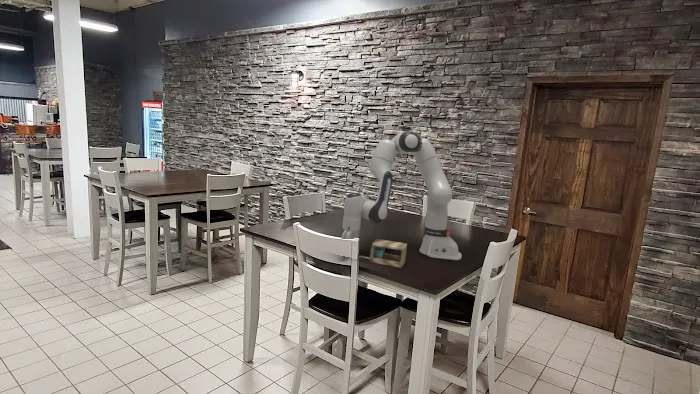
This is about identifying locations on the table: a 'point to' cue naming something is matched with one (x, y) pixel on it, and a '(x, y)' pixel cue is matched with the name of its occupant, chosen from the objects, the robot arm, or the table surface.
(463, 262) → the table surface
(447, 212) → the robot arm
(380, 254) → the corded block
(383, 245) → the cubby shelf
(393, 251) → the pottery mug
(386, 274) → the table surface
